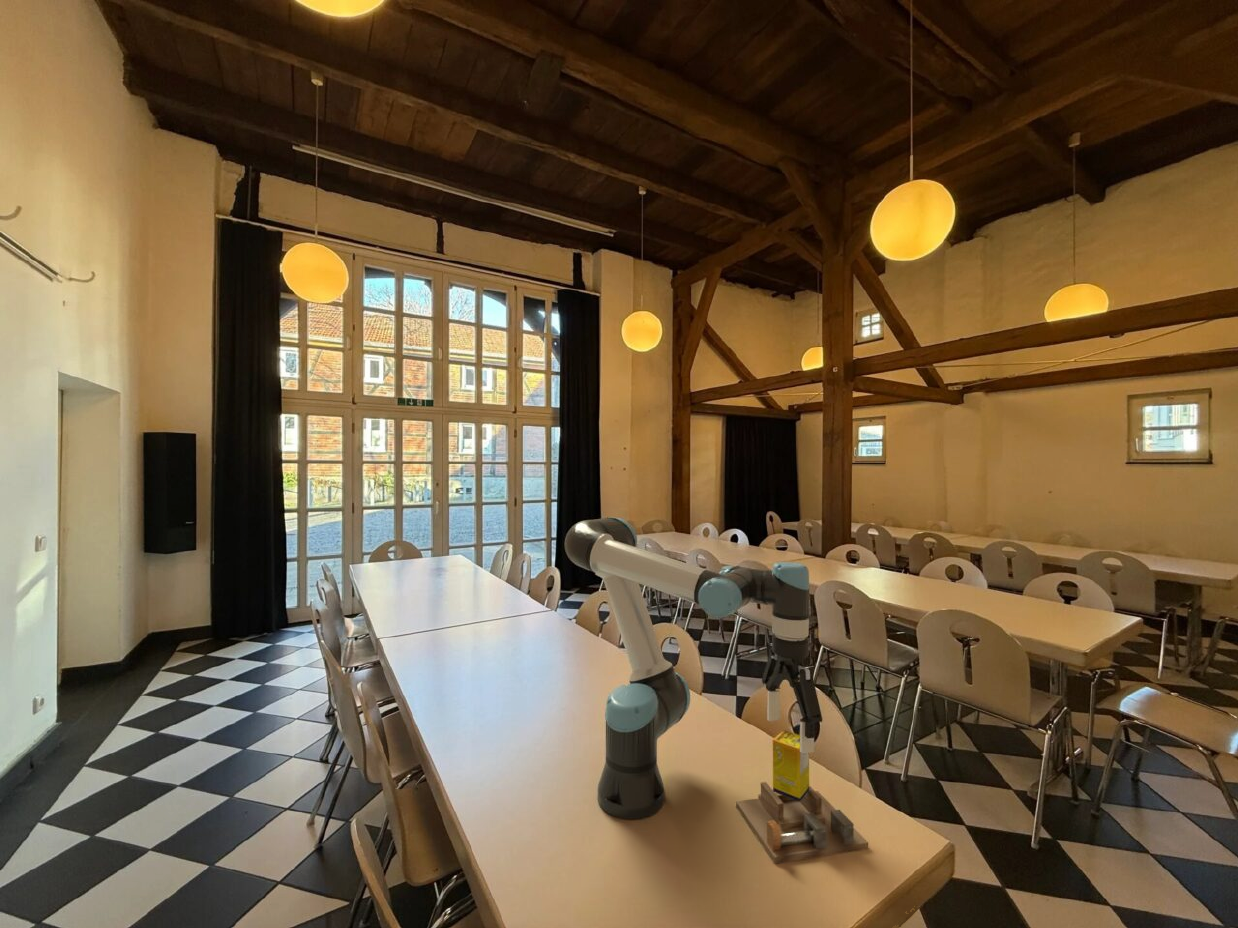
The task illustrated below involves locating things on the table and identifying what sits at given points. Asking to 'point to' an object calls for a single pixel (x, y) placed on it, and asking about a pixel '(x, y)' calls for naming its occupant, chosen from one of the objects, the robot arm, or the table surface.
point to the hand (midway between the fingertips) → (789, 735)
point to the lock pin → (786, 836)
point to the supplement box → (790, 766)
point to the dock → (801, 824)
